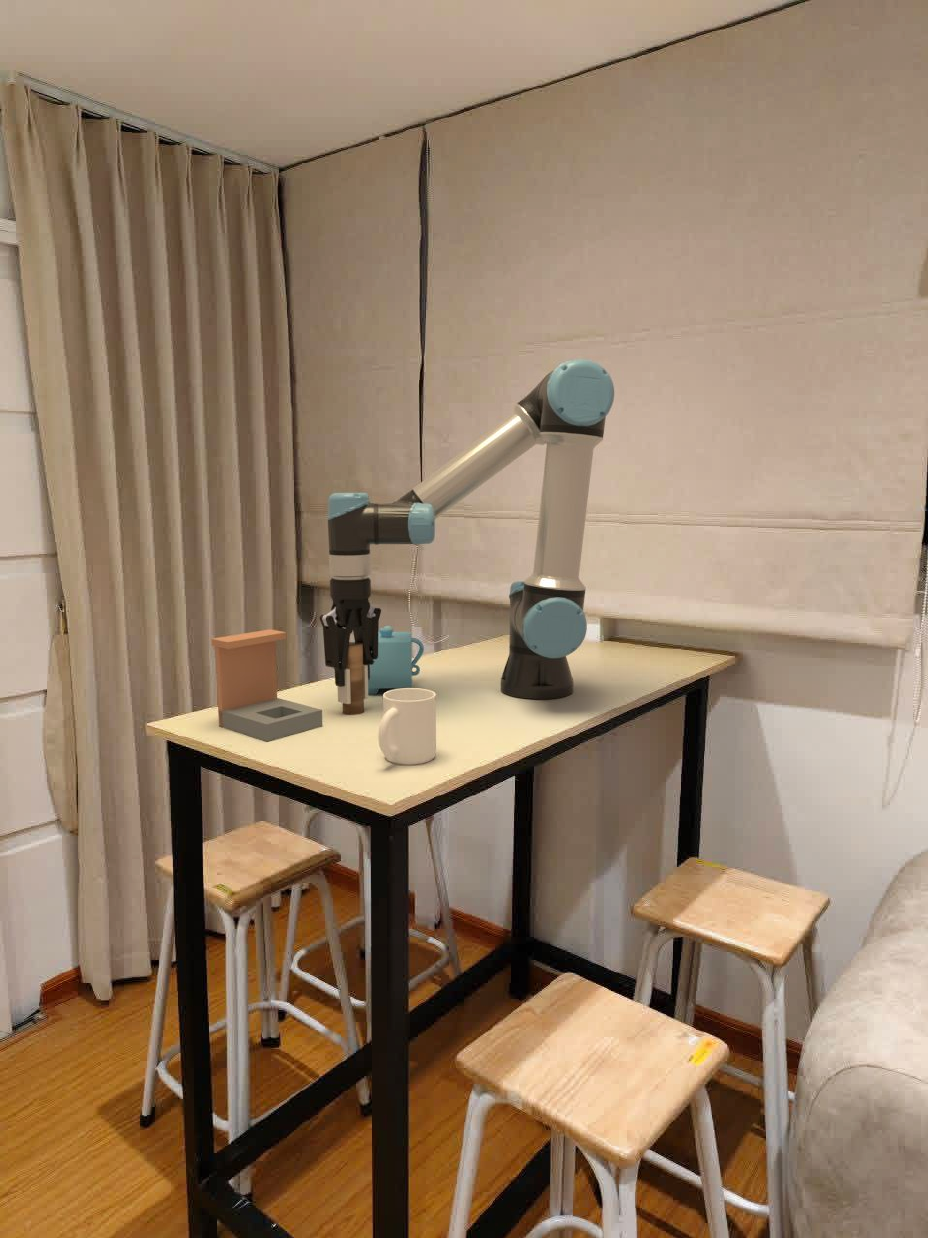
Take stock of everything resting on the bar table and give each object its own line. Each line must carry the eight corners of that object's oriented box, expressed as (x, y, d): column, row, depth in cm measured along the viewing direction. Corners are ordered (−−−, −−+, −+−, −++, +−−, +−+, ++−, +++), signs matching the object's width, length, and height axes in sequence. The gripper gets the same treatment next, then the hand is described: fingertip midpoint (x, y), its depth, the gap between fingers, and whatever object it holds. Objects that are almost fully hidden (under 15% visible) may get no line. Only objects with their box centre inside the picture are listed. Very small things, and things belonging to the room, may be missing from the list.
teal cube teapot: (424, 695, 174) (424, 633, 172) (347, 696, 173) (346, 633, 171) (422, 675, 192) (422, 618, 190) (353, 676, 191) (351, 619, 189)
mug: (402, 776, 127) (401, 709, 125) (358, 766, 131) (357, 701, 129) (446, 754, 137) (445, 692, 135) (403, 746, 141) (403, 685, 139)
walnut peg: (368, 711, 162) (367, 644, 160) (352, 715, 159) (351, 647, 157) (354, 707, 165) (352, 641, 162) (338, 711, 162) (336, 644, 159)
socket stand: (323, 725, 153) (321, 638, 150) (265, 742, 143) (262, 649, 140) (273, 711, 162) (270, 629, 159) (215, 725, 152) (211, 638, 150)
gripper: (369, 571, 166) (371, 688, 170) (301, 579, 154) (305, 706, 157) (396, 574, 161) (398, 694, 165) (328, 582, 149) (332, 713, 153)
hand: (353, 699), depth 161 cm, fingers closed on walnut peg, 4 cm apart
